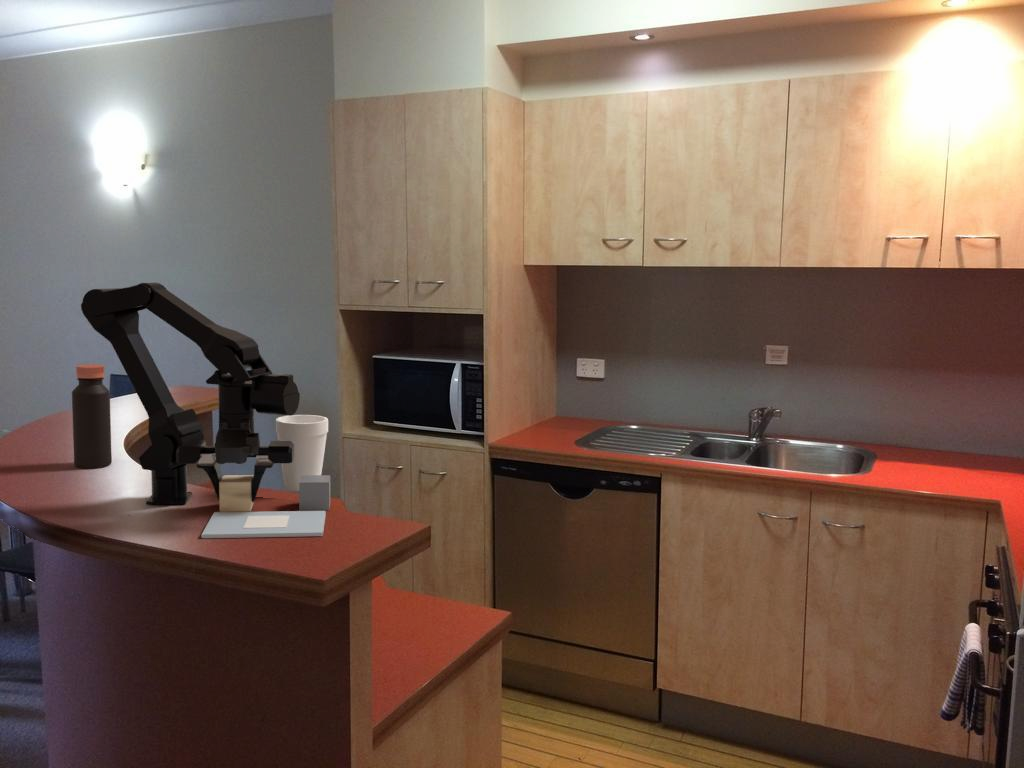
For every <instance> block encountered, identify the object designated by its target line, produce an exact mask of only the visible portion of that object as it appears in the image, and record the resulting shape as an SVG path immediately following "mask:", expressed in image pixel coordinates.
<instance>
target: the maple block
mask: <svg viewBox="0 0 1024 768" xmlns="http://www.w3.org/2000/svg"><path fill="white" fill-rule="evenodd" d="M253 478H254V474H251V475H250V474H247V475H245V474H243V475H242V474H241V475H240V474H239V475H232V474H230V475H225V474H224V475H223V476H222V479H221V481H220V482H219V499H220V502H219V512H252V509H253V506H254V504H255V501H254V502H252V486H253Z"/></svg>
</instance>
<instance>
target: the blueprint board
mask: <svg viewBox="0 0 1024 768" xmlns="http://www.w3.org/2000/svg"><path fill="white" fill-rule="evenodd" d="M326 511H327V510H317V511H299V510H294V511H293V510H292V511H291V510H285V511H279V510H278V511H273V510H272V511H232V512H220V511H215V512H214V511H213V514H212V516H211V517H210V519H209V521H208V522H207V524H206V526H205V528H204V530H203V532H202V533H201V534H200V535H201V539H237V538H240V539H241V538H244V539H245V538H246V539H247V538H286V537H287V538H293V537H296V538H297V537H324V529H325V522H326V516H327V515H326V514H327V513H326Z"/></svg>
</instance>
